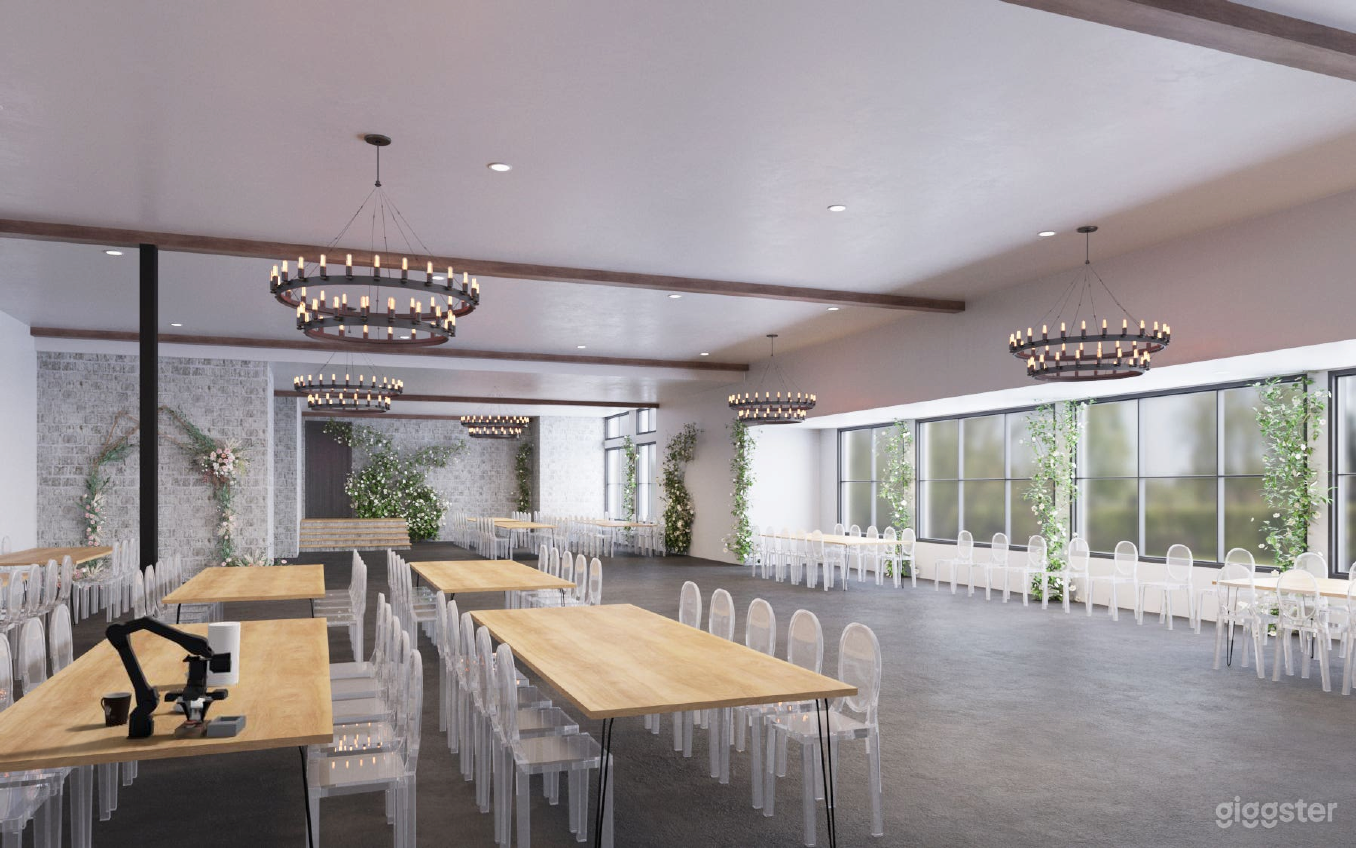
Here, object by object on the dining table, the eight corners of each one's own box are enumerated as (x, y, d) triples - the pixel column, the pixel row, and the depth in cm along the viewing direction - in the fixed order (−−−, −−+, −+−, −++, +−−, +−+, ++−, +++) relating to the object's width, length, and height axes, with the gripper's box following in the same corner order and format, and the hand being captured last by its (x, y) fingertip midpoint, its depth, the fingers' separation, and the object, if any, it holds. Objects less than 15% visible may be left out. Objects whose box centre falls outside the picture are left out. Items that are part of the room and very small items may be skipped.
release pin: (181, 735, 306) (181, 722, 306) (185, 732, 309) (185, 719, 310) (194, 734, 306) (194, 722, 307) (198, 731, 310) (198, 719, 311)
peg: (186, 733, 311) (187, 709, 312) (190, 730, 315) (191, 706, 315) (199, 733, 312) (200, 709, 312) (203, 730, 316) (204, 706, 316)
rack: (206, 737, 306) (207, 725, 307) (217, 728, 318) (218, 716, 318) (235, 736, 308) (236, 724, 308) (245, 727, 320) (246, 715, 320)
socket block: (174, 738, 305) (174, 729, 305) (186, 729, 316) (186, 720, 316) (200, 737, 306) (200, 728, 306) (211, 728, 318) (211, 719, 318)
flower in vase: (192, 715, 336) (195, 645, 338) (165, 713, 338) (168, 644, 340) (217, 707, 349) (220, 640, 350) (191, 705, 351) (193, 639, 353)
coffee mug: (133, 724, 323) (134, 695, 323) (105, 728, 317) (106, 699, 317) (125, 718, 331) (126, 690, 332) (97, 722, 325) (98, 693, 326)
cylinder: (233, 679, 400) (236, 621, 401) (241, 684, 390) (244, 624, 392) (202, 683, 392) (204, 623, 393) (209, 688, 382) (212, 626, 384)
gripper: (159, 680, 305) (157, 728, 304) (220, 678, 309) (218, 726, 307) (171, 673, 316) (169, 720, 315) (229, 672, 319) (227, 718, 318)
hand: (195, 721), depth 314 cm, fingers closed on peg, 4 cm apart
